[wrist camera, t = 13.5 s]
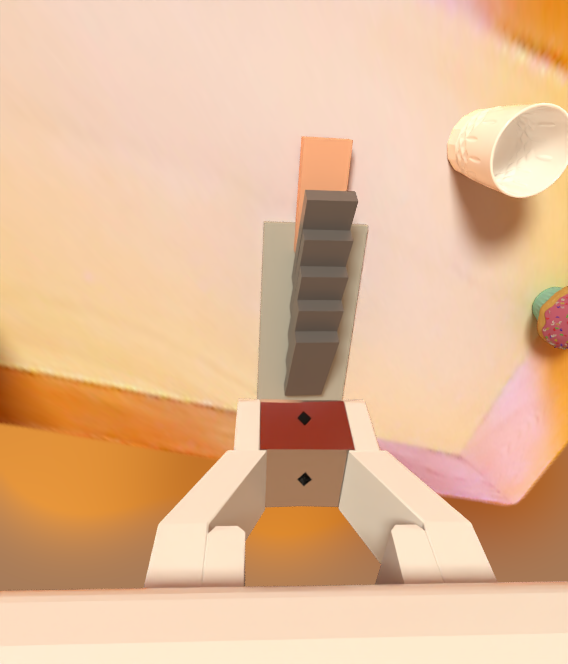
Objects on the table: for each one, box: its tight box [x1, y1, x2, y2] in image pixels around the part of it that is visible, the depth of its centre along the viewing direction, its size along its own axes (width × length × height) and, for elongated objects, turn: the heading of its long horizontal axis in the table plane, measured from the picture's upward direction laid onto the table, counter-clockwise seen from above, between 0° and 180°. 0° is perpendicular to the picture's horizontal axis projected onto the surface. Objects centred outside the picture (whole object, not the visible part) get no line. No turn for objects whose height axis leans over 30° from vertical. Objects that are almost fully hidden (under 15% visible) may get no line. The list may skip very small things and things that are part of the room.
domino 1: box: [294, 137, 353, 252], centre depth 47 cm, size 5×2×12 cm
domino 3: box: [289, 229, 353, 315], centre depth 48 cm, size 5×2×12 cm
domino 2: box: [292, 190, 358, 285], centre depth 46 cm, size 5×2×12 cm
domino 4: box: [287, 266, 349, 343], centre depth 50 cm, size 5×2×12 cm
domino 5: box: [286, 300, 344, 370], centre depth 52 cm, size 5×2×12 cm
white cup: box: [447, 103, 568, 198], centre depth 43 cm, size 8×8×10 cm
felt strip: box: [257, 221, 368, 401], centre depth 55 cm, size 12×28×1 cm, turn 176°
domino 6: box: [284, 331, 339, 396], centre depth 54 cm, size 5×2×12 cm
